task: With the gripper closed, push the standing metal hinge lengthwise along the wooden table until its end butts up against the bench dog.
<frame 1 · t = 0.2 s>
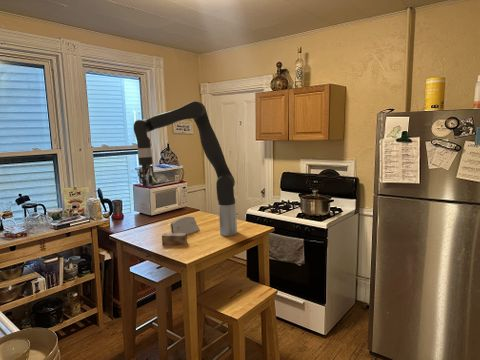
hand: (148, 185, 182), 29 cm above the table, fingers open, 8 cm apart
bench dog: (174, 243, 169), on the table
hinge: (184, 233, 187), on the table
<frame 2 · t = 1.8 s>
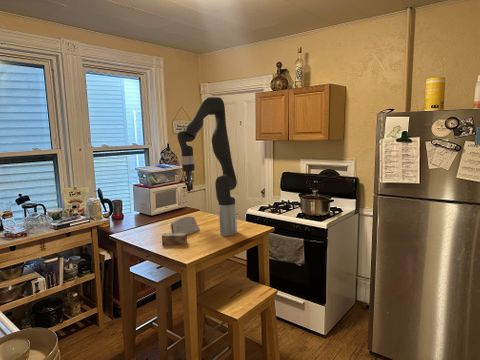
hand: (190, 190, 201), 21 cm above the table, fingers open, 4 cm apart
nothing on the table moved.
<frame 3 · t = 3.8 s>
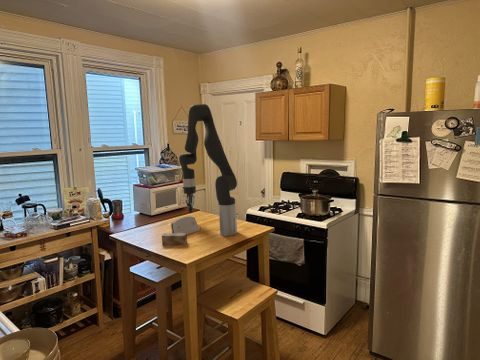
hand: (191, 212, 203), 7 cm above the table, fingers closed
nothing on the table moved.
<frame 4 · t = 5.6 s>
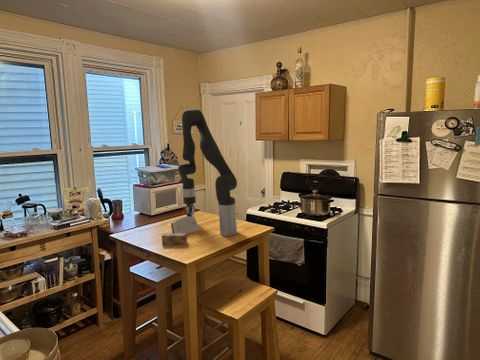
hand: (191, 222, 201), 1 cm above the table, fingers closed
nothing on the table moved.
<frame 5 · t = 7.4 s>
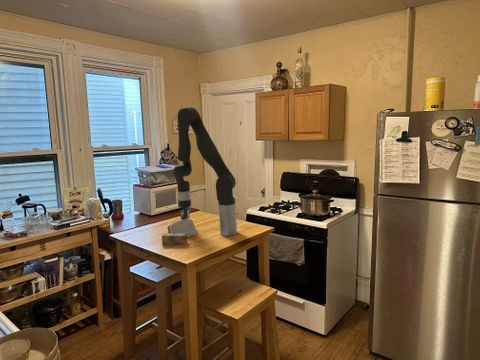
hand: (186, 227, 191), 2 cm above the table, fingers closed
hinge: (182, 236, 182), on the table
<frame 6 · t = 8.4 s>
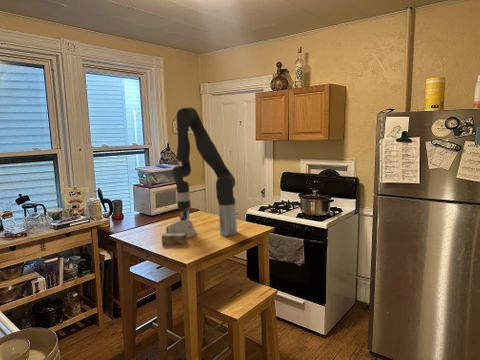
hand: (185, 228, 189), 2 cm above the table, fingers closed
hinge: (181, 237, 180), on the table
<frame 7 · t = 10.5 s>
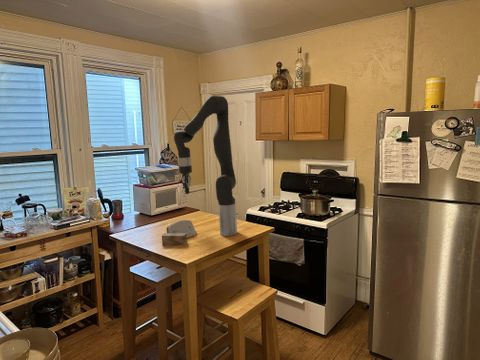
hand: (187, 193, 194), 21 cm above the table, fingers closed
nothing on the table moved.
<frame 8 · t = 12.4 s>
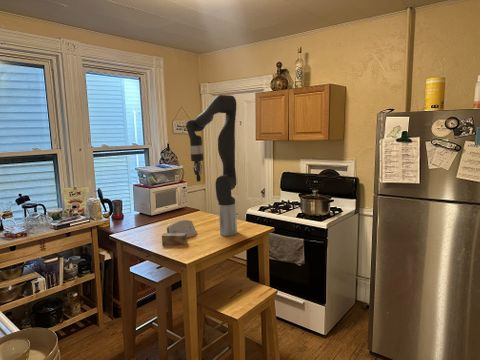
hand: (198, 181, 199), 27 cm above the table, fingers closed
nothing on the table moved.
at the end: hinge 0.7 cm from the target spot on the table beside the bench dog, on the table; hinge tilted 1°; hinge moved 6.9 cm from its start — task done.
